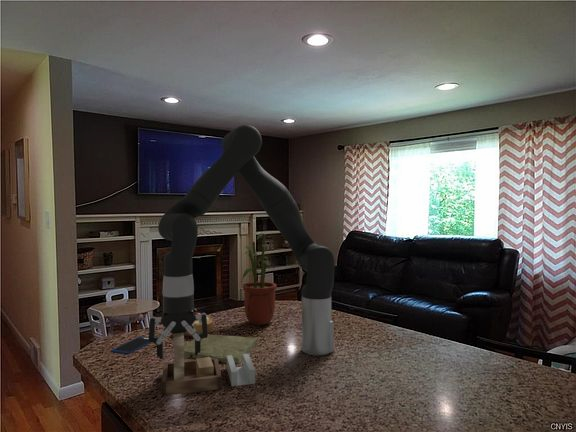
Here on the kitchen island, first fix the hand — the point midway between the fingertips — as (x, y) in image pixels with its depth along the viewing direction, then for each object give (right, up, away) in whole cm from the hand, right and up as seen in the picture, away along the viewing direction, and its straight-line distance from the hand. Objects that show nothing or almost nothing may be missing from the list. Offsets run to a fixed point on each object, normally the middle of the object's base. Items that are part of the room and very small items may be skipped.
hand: (178, 356), depth 100 cm
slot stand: (+15, -8, +4) cm, 17 cm away
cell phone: (-23, -8, +29) cm, 38 cm away
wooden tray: (+3, -8, +1) cm, 8 cm away
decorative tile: (+6, -8, +23) cm, 25 cm away
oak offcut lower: (+6, -7, +2) cm, 9 cm away
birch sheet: (0, -7, 0) cm, 7 cm away
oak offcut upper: (+6, -4, +1) cm, 8 cm away
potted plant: (+14, -6, +54) cm, 56 cm away
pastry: (-5, -7, +42) cm, 43 cm away
